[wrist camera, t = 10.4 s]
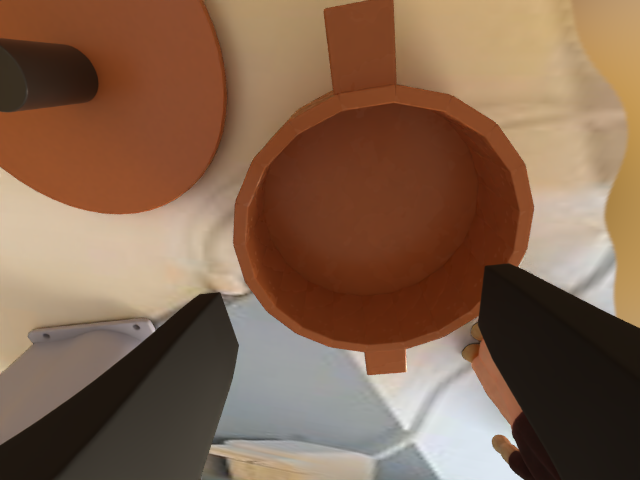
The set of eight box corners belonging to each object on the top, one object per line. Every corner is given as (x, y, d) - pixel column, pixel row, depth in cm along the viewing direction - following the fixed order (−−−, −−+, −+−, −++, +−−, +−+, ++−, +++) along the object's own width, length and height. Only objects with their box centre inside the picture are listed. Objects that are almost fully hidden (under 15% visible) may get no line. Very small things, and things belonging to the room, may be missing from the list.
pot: (288, 336, 23) (279, 392, 19) (210, 44, 15) (165, 34, 11) (473, 319, 22) (505, 375, 18) (504, -10, 14) (578, -45, 10)
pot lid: (38, 221, 20) (-50, 265, 15) (-151, -87, 13) (-403, -170, 9) (259, 190, 18) (236, 229, 14) (170, -168, 12) (72, -317, 7)
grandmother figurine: (504, 373, 25) (651, 625, 13) (454, 374, 25) (556, 623, 14) (528, 292, 21) (755, 545, 10) (469, 294, 21) (624, 544, 10)
